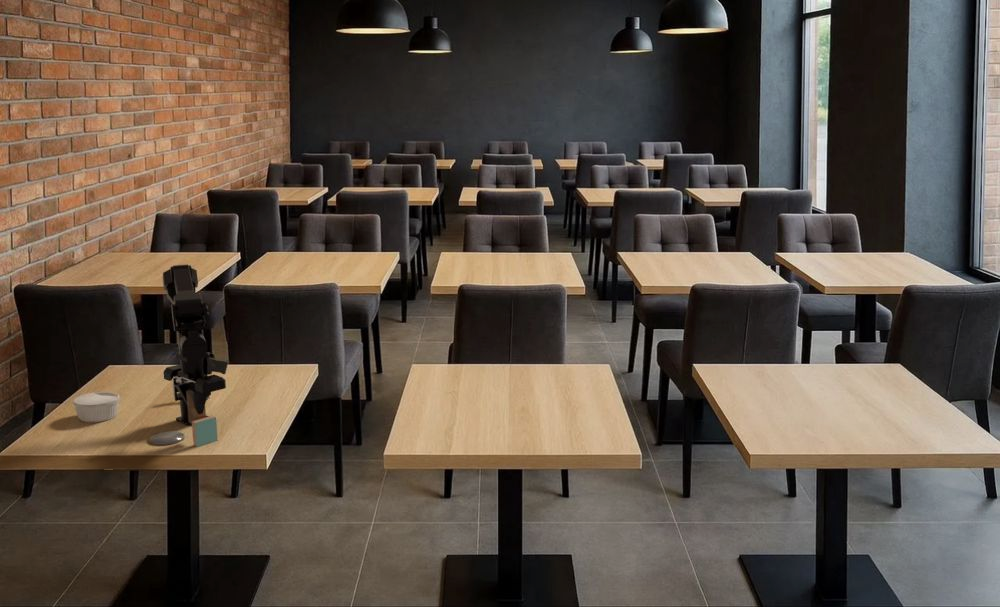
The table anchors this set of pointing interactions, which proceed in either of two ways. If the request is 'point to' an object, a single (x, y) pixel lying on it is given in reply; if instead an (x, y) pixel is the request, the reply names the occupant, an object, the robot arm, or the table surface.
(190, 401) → the block
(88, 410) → the ramekin
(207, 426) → the tile
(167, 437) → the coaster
